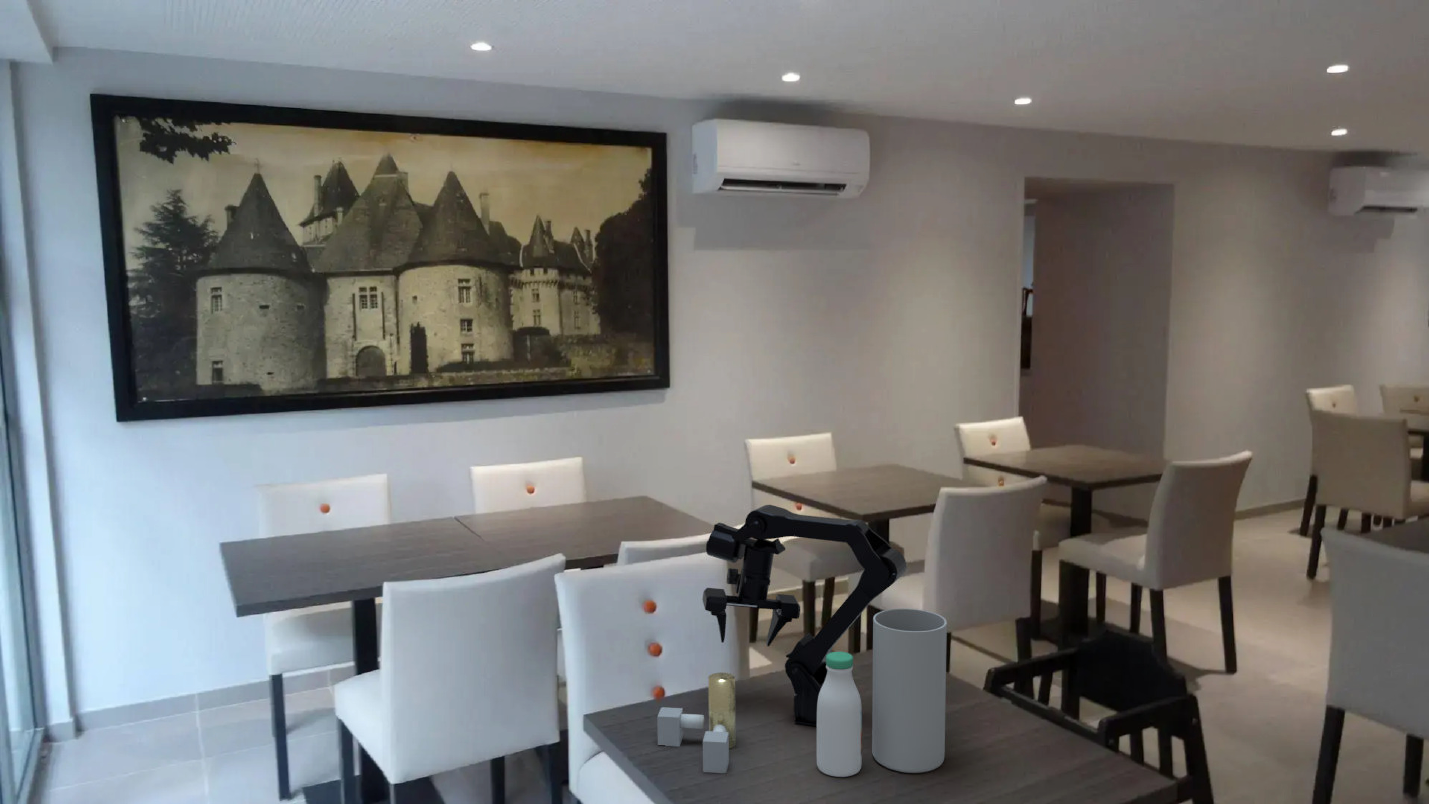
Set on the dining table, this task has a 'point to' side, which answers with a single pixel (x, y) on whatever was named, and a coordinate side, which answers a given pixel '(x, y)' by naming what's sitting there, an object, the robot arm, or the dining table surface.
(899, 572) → the robot arm
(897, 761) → the cylinder vase
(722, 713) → the olive pillar candle
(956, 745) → the dining table surface
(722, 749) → the shaft on bearing block
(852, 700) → the milk bottle
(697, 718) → the shaft on bearing block
